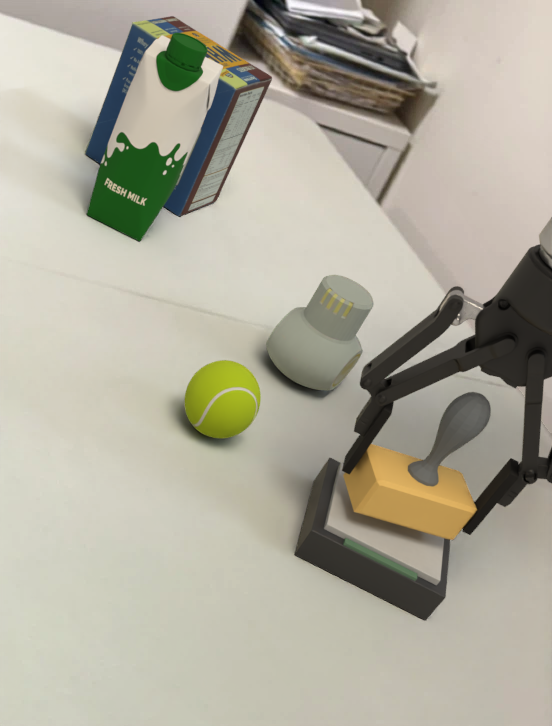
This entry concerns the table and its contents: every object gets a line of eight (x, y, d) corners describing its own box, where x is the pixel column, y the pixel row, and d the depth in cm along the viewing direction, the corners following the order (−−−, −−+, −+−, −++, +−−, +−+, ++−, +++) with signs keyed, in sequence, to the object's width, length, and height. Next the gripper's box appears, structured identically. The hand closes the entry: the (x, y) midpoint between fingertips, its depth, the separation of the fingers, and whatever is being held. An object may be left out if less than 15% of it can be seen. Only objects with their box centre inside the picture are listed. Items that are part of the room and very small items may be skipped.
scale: (433, 541, 105) (456, 513, 103) (425, 621, 96) (450, 592, 94) (313, 481, 105) (333, 451, 103) (294, 555, 96) (315, 524, 94)
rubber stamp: (437, 501, 100) (523, 393, 92) (453, 543, 96) (543, 433, 88) (342, 473, 98) (420, 359, 89) (354, 514, 94) (437, 399, 86)
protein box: (123, 141, 144) (172, 14, 133) (217, 202, 141) (275, 77, 130) (82, 153, 137) (130, 20, 126) (179, 218, 134) (238, 87, 123)
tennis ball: (247, 459, 104) (283, 398, 99) (182, 447, 101) (216, 384, 96) (227, 413, 108) (261, 353, 103) (164, 401, 106) (196, 338, 101)
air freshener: (288, 338, 123) (335, 256, 116) (349, 378, 121) (400, 298, 114) (248, 366, 116) (295, 280, 108) (312, 409, 114) (364, 326, 107)
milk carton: (76, 214, 126) (146, 27, 111) (97, 189, 132) (166, 9, 117) (145, 248, 126) (223, 66, 111) (162, 221, 132) (239, 46, 117)
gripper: (433, 212, 78) (281, 456, 93) (727, 361, 78) (526, 579, 94) (438, 179, 83) (294, 415, 99) (714, 319, 83) (525, 532, 99)
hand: (406, 495), depth 96 cm, fingers closed on rubber stamp, 11 cm apart
